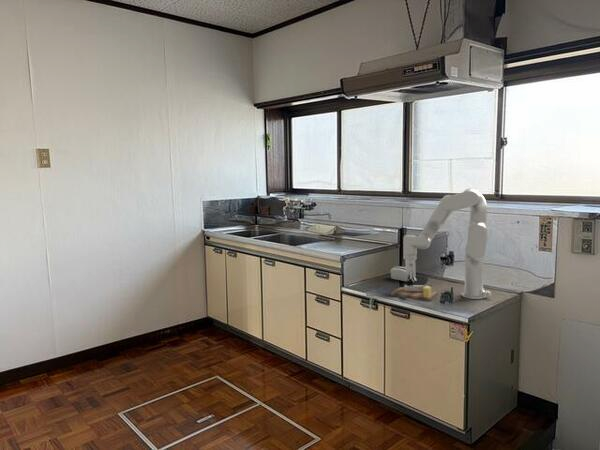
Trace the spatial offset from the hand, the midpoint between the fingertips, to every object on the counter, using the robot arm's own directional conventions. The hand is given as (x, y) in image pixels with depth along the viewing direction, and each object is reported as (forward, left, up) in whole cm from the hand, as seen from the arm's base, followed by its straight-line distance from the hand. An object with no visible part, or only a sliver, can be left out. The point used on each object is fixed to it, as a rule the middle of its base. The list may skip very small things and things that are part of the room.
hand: (410, 287), depth 266 cm
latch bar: (-4, +1, -1) cm, 5 cm away
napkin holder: (+14, -24, -4) cm, 28 cm away
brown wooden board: (-4, +3, -3) cm, 6 cm away
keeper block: (-13, +7, -2) cm, 14 cm away
